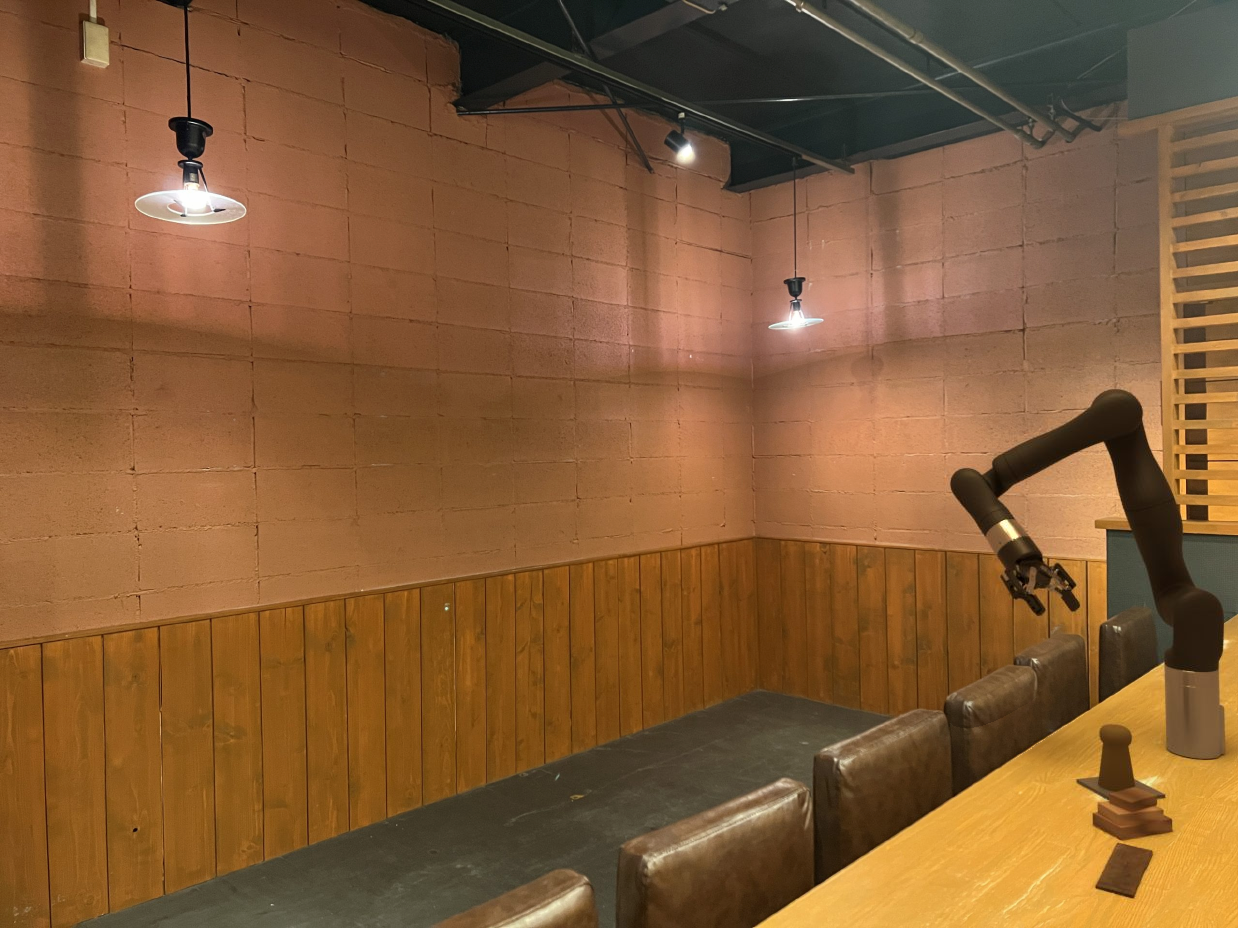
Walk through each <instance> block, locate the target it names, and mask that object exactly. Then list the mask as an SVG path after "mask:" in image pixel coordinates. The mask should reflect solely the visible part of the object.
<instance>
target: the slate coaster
mask: <svg viewBox="0 0 1238 928" xmlns="http://www.w3.org/2000/svg"><path fill="white" fill-rule="evenodd" d="M1098 779H1099V776H1092V777H1084V778H1076V780H1075V781H1076V783H1077V784H1079V785H1081V786H1082V787H1084V788H1086V789H1088V790H1090V791H1091V792H1093V793H1095V794H1097V795H1099V796H1100V797H1103V798H1104V799H1106V800H1107V801H1109V794H1110V793H1113V791H1109V790H1106V789H1103V788H1102V787H1100V786H1099V785H1098ZM1134 781H1135V787H1136V788H1139V789H1141V790H1144V791H1146V792H1149V793H1152V794H1154V795H1157V800H1159V799H1166V793H1164V792H1161V791H1159V790H1158V789H1155V788H1153V787H1152V786H1149V785H1148V784H1145V782H1142V781H1139V780H1138V779H1135V778H1134Z"/></svg>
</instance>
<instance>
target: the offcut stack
mask: <svg viewBox="0 0 1238 928" xmlns="http://www.w3.org/2000/svg"><path fill="white" fill-rule="evenodd" d="M1164 812H1165V811H1164V809H1163V808H1161V807H1159V806H1158V799H1157V795H1154V794H1152V793H1149V792H1146V791H1144V790H1141V789H1139V788H1136V787H1133V788H1129V789H1125V790H1121V791H1117V792H1113V793H1110V794H1109V800H1107V801H1106V800H1105V801H1099V802H1097V811H1096V812H1092V813H1091V814H1092V825H1093V826H1094V827H1097V828H1098V829H1099V830H1101V831H1103V832H1106V833H1107V834H1108V835H1109V834H1110V836H1113V837H1115V838H1117V839H1119V840H1121V841H1124V840H1125V841H1126V840H1130V839H1135V838H1142V837H1146V836H1152V835H1159V834H1163V833H1164V834H1165V833H1170V832H1173V818H1172V817H1169V816H1166V815H1165V814H1164Z"/></svg>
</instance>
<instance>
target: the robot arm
mask: <svg viewBox="0 0 1238 928" xmlns="http://www.w3.org/2000/svg"><path fill="white" fill-rule="evenodd" d="M1143 409H1144V408H1143V406H1142V404H1141V402H1140V401H1139V399H1138V398H1137V397H1136V396H1135V395H1134V394H1133V393H1132V392H1129V391H1127V390H1125V389H1121V388H1111V389H1107V390H1104V391H1102V392H1101V393H1099V394H1098V395H1097V396H1096V397H1095V398H1094V399H1093V401H1092V403H1091V405H1090V406H1089V407H1088V408H1087V409H1085V410H1084V411H1082V412H1081V413H1080V414H1078V415H1077V416H1075V417H1074V418H1073V419H1071V420H1069V421H1067V422H1066V423H1063V424H1062V425H1061V426H1057V427H1056V428H1054V429H1051V430H1049V431H1047V432H1044V433H1042V434H1039V435H1037V436H1035V437H1032V438H1030V439H1028V440H1026V441H1024V442H1021V443H1019V444H1017V445H1015V446H1014V447H1012V448H1010V449H1008V450H1006V451H1004V452H1003V453H1000V454H999V455H997V456H995V457H994V458H993V459H992V462H991V466H992V467H991V468H989V470H987V471H985V472H983V474H982V473H981V472H979V471H978V470H977V469H975V468H971V467H962V468H959V469H958V470H956V471H955V472H953V474H952V475H951V477H950V482H949V486H950V490H951V492H952V494H953V495H954V497H955V499H956V500H957V501H958V503H960V504H961V506H962V507H963V508H964V509H965V510H966V512H967V513H968V514H969V516H970V517H971V518H972V519H973V521H974V522H975V524H976V525H977V527H978V529H979V531H980V532H981V533H982V535H983V536H984V538H985V539H986V540H987V542H988V545H989V546H990V548H991V550H992V551H993V553H994V554H995V556H996V557H997V559H998V560H999V562H1000V563H1001V564H1002V565H1003V566H1002V567H1004V569H1005V570H1004V571H1003V572H1002V573H1001V574H1000V579H1001V582H1003V584H1004V586H1005V588H1006V589H1007V591H1008V592H1009V594H1010V595H1011V597H1012V598H1013V600H1018V599H1019V600H1022V601H1023V602H1025V603H1026V604H1027V606H1028V607H1029V608H1030V610H1031V612H1033V613H1034V614H1035V616H1036V617H1041V616H1043V615H1044V613H1045V612H1046V607H1045V606H1044V605H1043V603H1042V602H1041V600H1040V599H1039V597H1038V595H1037V594H1035V592H1034V591H1035V590H1037V589H1041V590H1044V589H1045V590H1047V591H1049V592H1051V593H1052V592H1054V593H1055V594H1057V595H1058V596H1061V597H1060V598H1061V599H1062V601H1063V602H1064V604H1065V605H1066V607H1067V608H1068V609H1069V610H1070V612H1071V613H1074V612H1077V611H1078V610H1079V609H1080V608H1081V603H1080V601H1079V600H1078V598H1077V596H1075V594H1074V593H1073V590H1074V589H1075V588H1076V586H1077V583H1076V582H1075V580H1073V578H1072V577H1071V575H1070V574H1069V573H1068V572H1067V571H1066V570H1065V568H1064V567H1063V566H1062V564H1060V562H1059V563H1058V562H1055V564H1054V565H1050V566H1049V565H1047V563H1045V561H1044V558H1043V552H1042V551H1041V549H1040V548H1039V547H1038V545H1037V544H1036V543H1035V542H1034V540H1033V538H1032V537H1031V536H1030V535H1029V534H1028V532H1027V531H1026V530H1025V529H1026V528H1024V527H1023V526H1022V525H1021V524H1020V523H1019V522H1018V521H1017V519H1016V518H1015V517H1014V515H1013V514H1012V512H1011V511H1010V510H1009V508H1008V507H1007V506H1006V505H1005V504H1004V503H1003V502H1001V500H1000V499H999V498H1001V497H1002V495H1004V494H1005V493H1006V492H1008V491H1009V490H1010V489H1011V488H1012V487H1013V486H1015V485H1017V484H1019V483H1021V482H1023V481H1026V480H1027V479H1029V478H1030V477H1032V476H1034V475H1037V474H1038V473H1040V472H1042V471H1044V470H1046V469H1048V468H1050V467H1052V466H1053V465H1055V464H1057V463H1058V462H1061V461H1062V460H1064V459H1066V458H1067V457H1070V456H1072V455H1074V454H1076V453H1078V452H1080V451H1083V450H1085V449H1088V448H1090V447H1094V446H1095V445H1099V444H1101V443H1104V446H1105V448H1106V450H1107V453H1108V455H1109V457H1110V460H1111V463H1112V467H1113V472H1114V478H1115V482H1116V488H1117V491H1118V496H1119V499H1120V503H1121V506H1122V509H1123V512H1124V515H1125V517H1126V520H1127V523H1128V526H1129V528H1130V530H1131V533H1132V534H1133V537H1134V540H1135V543H1136V546H1137V548H1138V551H1139V553H1140V556H1141V558H1142V560H1143V564H1144V566H1145V569H1146V572H1147V576H1148V580H1149V583H1150V584H1149V585H1150V588H1151V592H1152V597H1153V601H1154V605H1155V608H1156V611H1157V614H1158V616H1159V618H1160V619H1161V620H1162V621H1163V622H1164V623H1165V624H1166V625H1168V626H1169V627H1171V628H1172V630H1173V631H1172V645H1171V647H1169V648H1167V649H1165V650H1164V654H1163V659H1164V660H1163V663H1164V665H1163V666H1164V667H1163V668H1164V696H1165V697H1164V704H1165V706H1164V707H1165V710H1164V711H1165V739H1166V741H1165V743H1166V744H1165V745H1166V747H1165V748H1166V749H1167V750H1168V751H1169V752H1170V753H1173V754H1175V755H1178V756H1181V757H1187V758H1191V759H1199V760H1200V759H1202V760H1209V759H1210V760H1211V759H1216V758H1219V757H1221V756H1222V755H1225V754H1226V727H1225V726H1226V723H1225V720H1226V718H1225V716H1226V715H1225V707H1224V706H1223V705H1221V702H1220V701H1221V699H1220V660H1221V658H1222V656H1223V652H1224V644H1225V643H1224V641H1225V640H1224V636H1225V615H1224V608H1223V606H1222V603H1221V601H1220V600H1219V598H1218V597H1217V596H1216V595H1215V594H1213V593H1212V592H1210V591H1207V590H1205V589H1201V588H1198V587H1197V586H1196V585H1195V583H1194V581H1193V579H1192V577H1191V575H1190V572H1189V571H1188V567H1187V565H1186V563H1185V562H1186V561H1185V559H1184V554H1183V553H1184V552H1183V539H1184V525H1183V524H1184V523H1183V519H1182V515H1181V512H1180V509H1179V506H1178V503H1177V501H1176V498H1175V495H1174V493H1173V491H1172V488H1171V486H1170V484H1169V482H1168V479H1167V478H1166V476H1165V474H1164V472H1163V469H1162V468H1161V466H1160V465H1159V463H1158V461H1157V459H1156V458H1155V456H1154V453H1153V450H1152V448H1151V447H1150V445H1149V441H1148V437H1147V433H1146V429H1145V427H1144V421H1143V416H1144V410H1143ZM1052 580H1053V582H1052ZM1051 582H1052V583H1051ZM1066 582H1067V583H1066ZM1057 586H1059V587H1060V588H1059V587H1057Z"/></svg>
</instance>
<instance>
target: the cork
mask: <svg viewBox="0 0 1238 928" xmlns="http://www.w3.org/2000/svg"><path fill="white" fill-rule="evenodd" d="M1098 733H1099V739H1100V741H1101V743H1102V748H1101V755H1100V756H1101V758H1100V765H1099V773H1098V777H1099V779H1098V785H1099V786H1100V787H1102V788H1103V789H1106V790H1109V791H1113V792H1117V791H1121V790H1125V789H1129V788H1133V787H1135V781H1134V779H1135V776H1134V771H1133V765H1132V764H1133V763H1132V759H1131V753H1130V745H1131V744H1132V740H1133V736H1132V732H1131V730H1130V729H1129V728H1128V727H1126V726H1123V725H1120V724H1114V723H1113V724H1112V723H1111V724H1110V723H1109V724H1104V725H1102V726H1101V727H1099V732H1098Z"/></svg>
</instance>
